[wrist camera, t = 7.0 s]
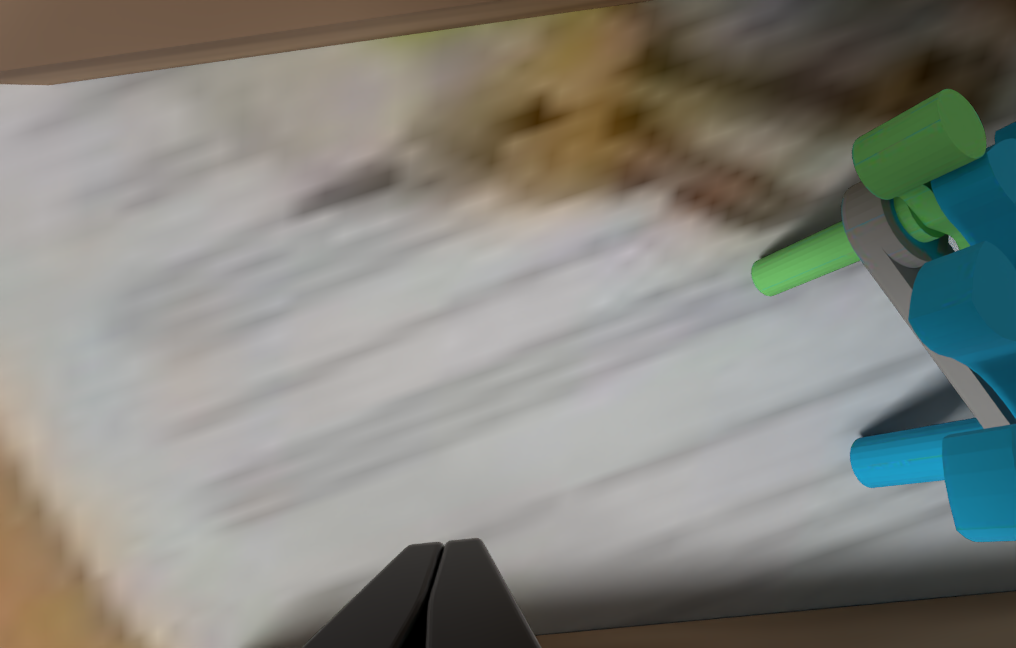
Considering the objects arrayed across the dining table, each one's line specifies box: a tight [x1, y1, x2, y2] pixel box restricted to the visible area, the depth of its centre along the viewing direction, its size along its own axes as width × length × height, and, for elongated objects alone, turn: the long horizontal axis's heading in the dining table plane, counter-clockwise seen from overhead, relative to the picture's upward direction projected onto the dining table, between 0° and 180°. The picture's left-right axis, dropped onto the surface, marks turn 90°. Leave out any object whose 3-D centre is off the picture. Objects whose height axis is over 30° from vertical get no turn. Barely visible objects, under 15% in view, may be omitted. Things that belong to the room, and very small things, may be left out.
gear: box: [751, 89, 1016, 542], centre depth 13 cm, size 11×6×10 cm
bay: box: [0, 0, 1016, 648], centre depth 13 cm, size 16×28×3 cm, turn 97°
